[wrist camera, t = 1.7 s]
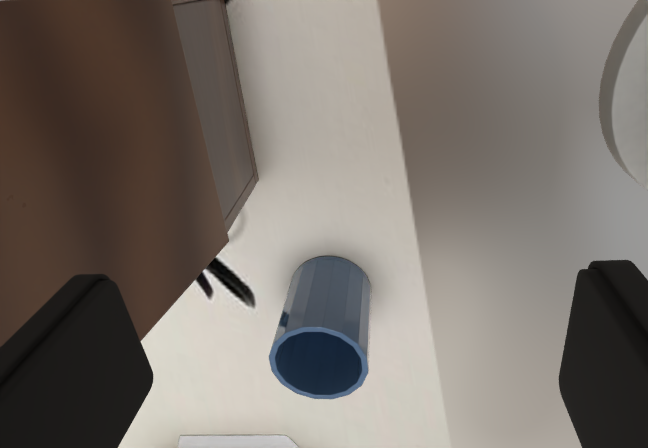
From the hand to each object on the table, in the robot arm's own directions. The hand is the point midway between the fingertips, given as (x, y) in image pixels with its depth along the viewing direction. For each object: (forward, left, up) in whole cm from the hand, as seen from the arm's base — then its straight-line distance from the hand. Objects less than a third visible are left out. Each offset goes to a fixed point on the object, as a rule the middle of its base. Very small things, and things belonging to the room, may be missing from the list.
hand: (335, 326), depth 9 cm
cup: (+4, +16, -22) cm, 27 cm away
